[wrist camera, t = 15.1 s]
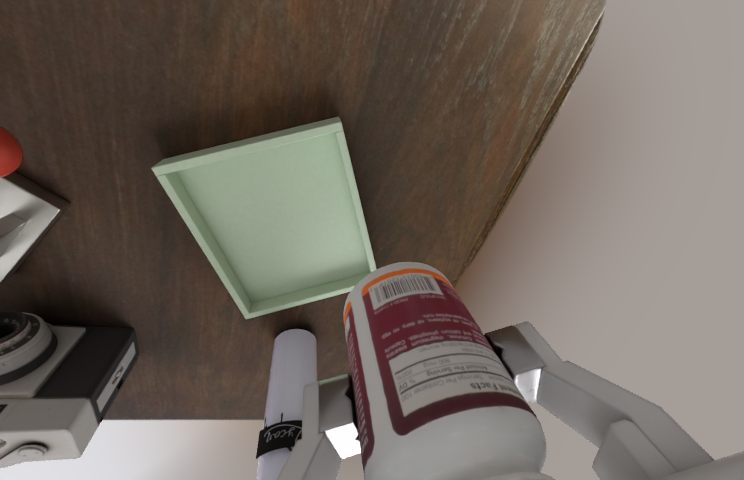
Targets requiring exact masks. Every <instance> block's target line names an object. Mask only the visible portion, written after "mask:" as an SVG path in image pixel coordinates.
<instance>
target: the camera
mask: <svg viewBox="0 0 744 480" xmlns="http://www.w3.org/2000/svg"><path fill="white" fill-rule="evenodd" d="M138 355H139V352H138V346H137V340H136V336H135V332H134V330H133V329H132V328H120V327H94V326H68V325H51V324H49V323H47V322H45V321H44V320H43V319H42V318H41V317H39V316H37V315H35V314H31V313H24V312H19V311H15V310H1V311H0V468H3V467H8V466H11V465H14V464H18V463H22V462H28V461H45V460H61V459H76V458H79V457H81V455H82V453H83V452H84V450H85V448H86V447H87V445H88V443H89V441H90V440H91V438H92V436H93V435H94V433H95V431H96V429H97V428H98V426H99V424H100V422H101V421H102V420H103V418H104V416H105V415H106V413H107V411H108V410H109V408H110V406H111V404H112V403H113V401H114V399H115V397H116V396H117V394H118V392H119V390H120V389H121V387H122V385H123V384H124V382H125V380H126V378H127V377H128V375H129V373H130V371H131V370H132V368H133V366H134V364H135V363H136V361H137V359H138V357H137V356H138Z"/></svg>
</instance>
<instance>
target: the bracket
mask: <svg viewBox="0 0 744 480" xmlns="http://www.w3.org/2000/svg"><path fill="white" fill-rule="evenodd" d="M69 205H70V203H69V202H67V201H66V200H64V199H62V198H60V197H59V196H57V195H55V194H54V193H52V192H50V191H48V190H47V189H45V188H43V187H41V186H40V185H38V184H36V183H34V182H33V181H31V180H29V179H27V178H26V177H24V176H22V175H20V174H19V173H17V172H15V171H14V172H13V173H11V174H9V175H6V176H4V177H0V283H1V282H3V281H5V280H6V279H8V278H9V277H10V276H12V275H13V274H14V273H15V272H16V270H17V269H18V268H19V267H20V265H21V264H22V263H23V262H24V261H25V259H26V258H27V257H28V256H29V254H30V253H31V252H32V251H33V250H34V248H35V247H36V246H37V245H38V243H39V242H40V241H41V240H42V238H43V237H44V236H45V235H46V234H47V232H48V231H49V230H50V229H51V227H52V226H53V225H54V224H55V222H56V221H57V220H58V219H59V218H60V216H61V215H62V214H63V213H64V211H65V210H66V209H67V208H68V206H69Z"/></svg>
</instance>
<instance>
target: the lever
mask: <svg viewBox="0 0 744 480" xmlns="http://www.w3.org/2000/svg"><path fill="white" fill-rule="evenodd" d="M22 160H23V150H22V147H21V145H20V143H19V142H18V140H17V139H16V138H15V137H14V136H13V135H12V134H11V133H10V132H9V131H7V130H6V129H4V128H3V127H1V126H0V177H4V176H6V175H9V174H11V173H13V172H14V171H15V170H16V169H17V168H18V167H19V166H20V165H21V163H22Z"/></svg>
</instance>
